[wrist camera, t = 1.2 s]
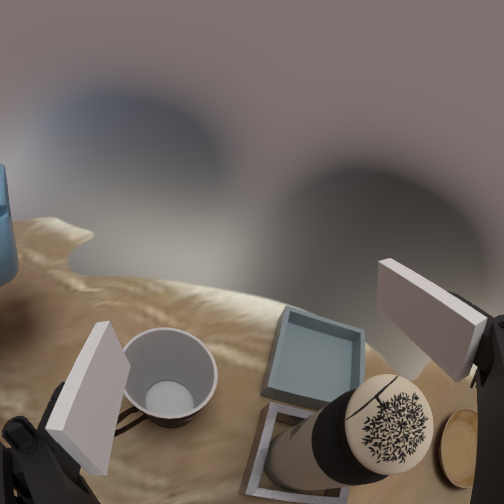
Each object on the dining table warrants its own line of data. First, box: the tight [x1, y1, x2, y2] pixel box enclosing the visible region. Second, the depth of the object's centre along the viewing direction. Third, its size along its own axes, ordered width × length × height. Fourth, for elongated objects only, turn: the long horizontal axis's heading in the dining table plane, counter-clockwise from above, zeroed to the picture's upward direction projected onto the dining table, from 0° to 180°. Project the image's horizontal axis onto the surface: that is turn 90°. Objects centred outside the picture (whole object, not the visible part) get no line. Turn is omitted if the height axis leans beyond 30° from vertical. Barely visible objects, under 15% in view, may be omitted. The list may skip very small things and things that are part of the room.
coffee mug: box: [114, 327, 218, 437], centre depth 24 cm, size 12×9×10 cm
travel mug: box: [264, 374, 433, 491], centre depth 20 cm, size 8×8×18 cm
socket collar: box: [239, 401, 349, 504], centre depth 25 cm, size 11×11×4 cm
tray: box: [260, 306, 365, 410], centre depth 35 cm, size 12×12×3 cm
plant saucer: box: [439, 408, 478, 488], centre depth 26 cm, size 15×15×3 cm
